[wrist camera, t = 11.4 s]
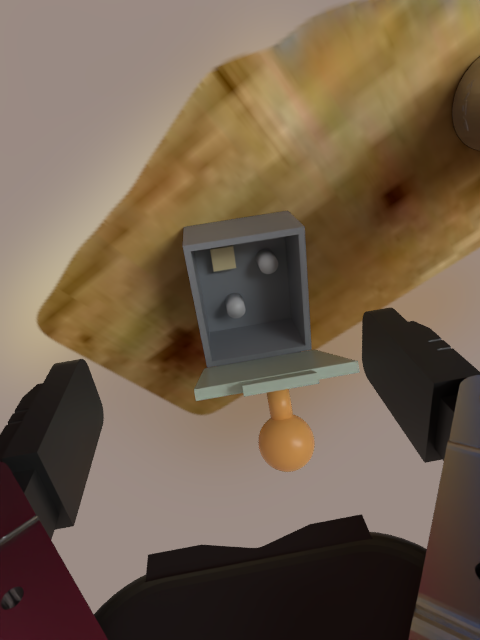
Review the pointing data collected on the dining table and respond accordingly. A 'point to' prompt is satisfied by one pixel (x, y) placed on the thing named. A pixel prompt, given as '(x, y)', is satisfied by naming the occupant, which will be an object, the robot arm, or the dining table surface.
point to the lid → (277, 398)
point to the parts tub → (249, 287)
